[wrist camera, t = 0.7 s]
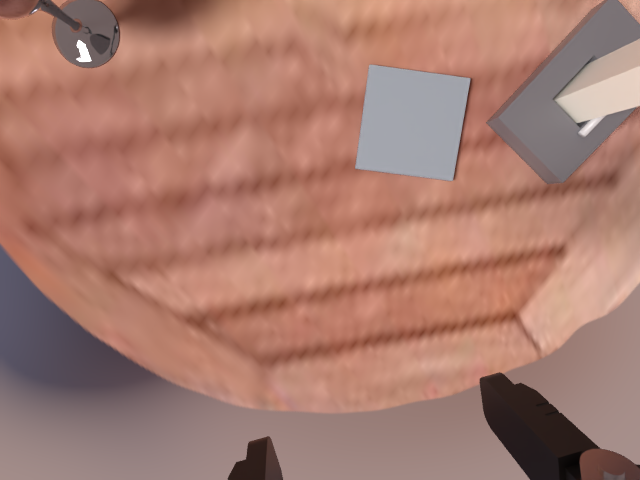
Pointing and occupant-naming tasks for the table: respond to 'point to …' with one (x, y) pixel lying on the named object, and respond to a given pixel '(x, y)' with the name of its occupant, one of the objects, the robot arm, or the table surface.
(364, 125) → the mat
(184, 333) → the table surface
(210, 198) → the table surface
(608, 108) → the tall cream pillar
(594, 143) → the gray slotted base
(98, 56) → the wine glass
